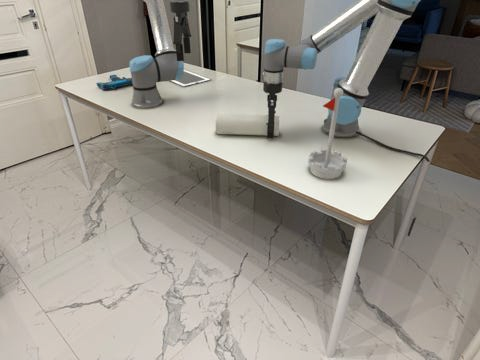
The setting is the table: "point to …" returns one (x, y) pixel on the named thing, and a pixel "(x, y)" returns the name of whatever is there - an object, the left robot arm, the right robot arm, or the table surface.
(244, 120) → the white cylinder
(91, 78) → the table surface
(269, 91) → the right robot arm
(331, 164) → the flag stand
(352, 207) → the table surface
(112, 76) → the submachine gun
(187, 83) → the tablet
